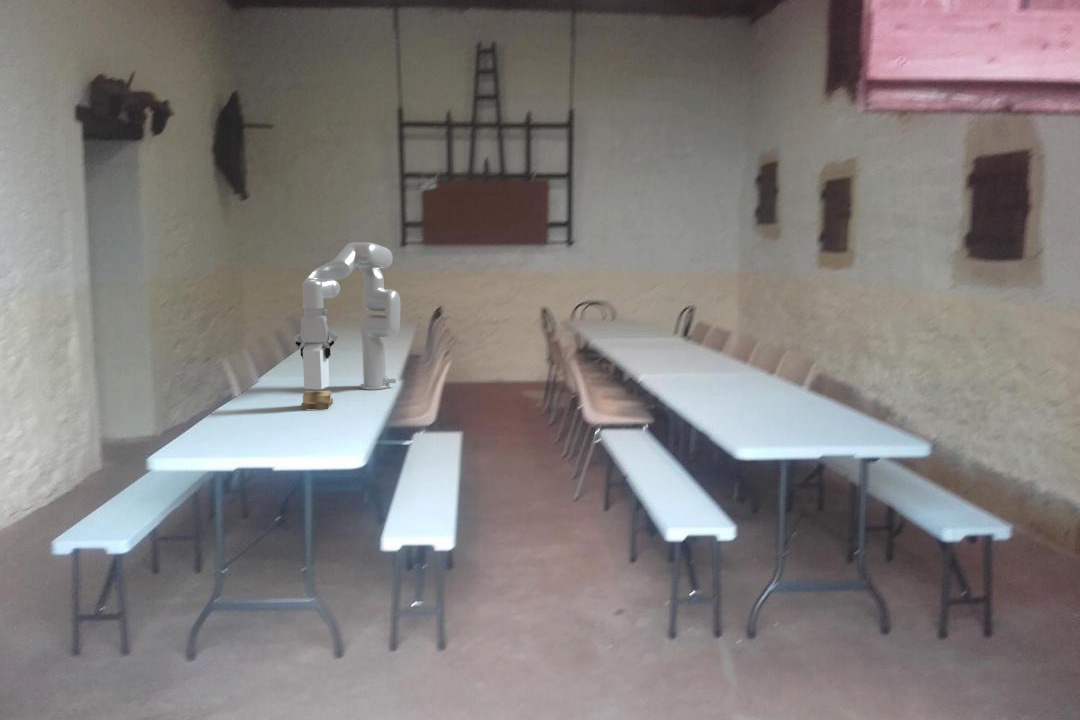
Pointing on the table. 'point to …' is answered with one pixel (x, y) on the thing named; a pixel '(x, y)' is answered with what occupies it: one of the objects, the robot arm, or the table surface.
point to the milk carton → (315, 366)
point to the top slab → (316, 397)
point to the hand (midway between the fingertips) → (315, 358)
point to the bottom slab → (317, 405)
